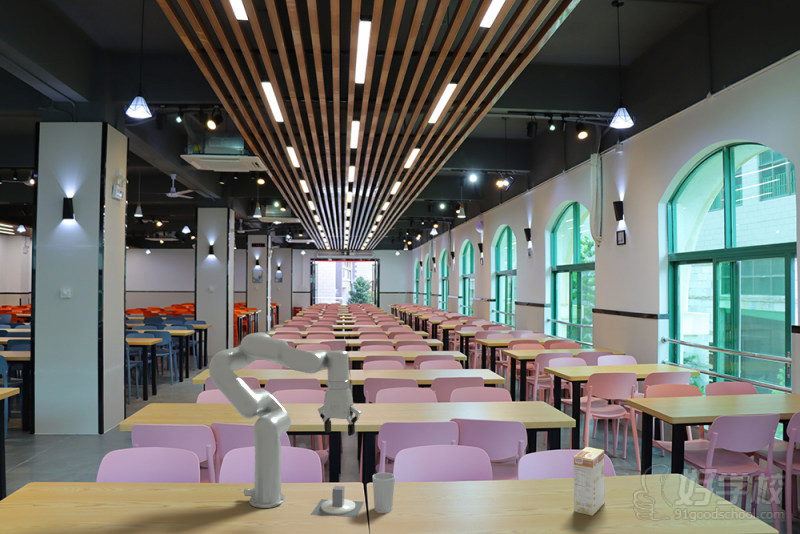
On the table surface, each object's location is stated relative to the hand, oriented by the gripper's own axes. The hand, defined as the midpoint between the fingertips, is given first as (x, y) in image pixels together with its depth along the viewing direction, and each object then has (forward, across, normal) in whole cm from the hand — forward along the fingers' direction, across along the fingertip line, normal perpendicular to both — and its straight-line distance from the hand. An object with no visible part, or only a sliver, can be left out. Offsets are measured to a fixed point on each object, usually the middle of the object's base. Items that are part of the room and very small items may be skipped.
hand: (339, 433), depth 204 cm
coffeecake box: (+30, +79, +42) cm, 94 cm away
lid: (+26, 0, -1) cm, 26 cm away
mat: (+26, 0, -1) cm, 26 cm away
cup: (+27, +14, +5) cm, 31 cm away
